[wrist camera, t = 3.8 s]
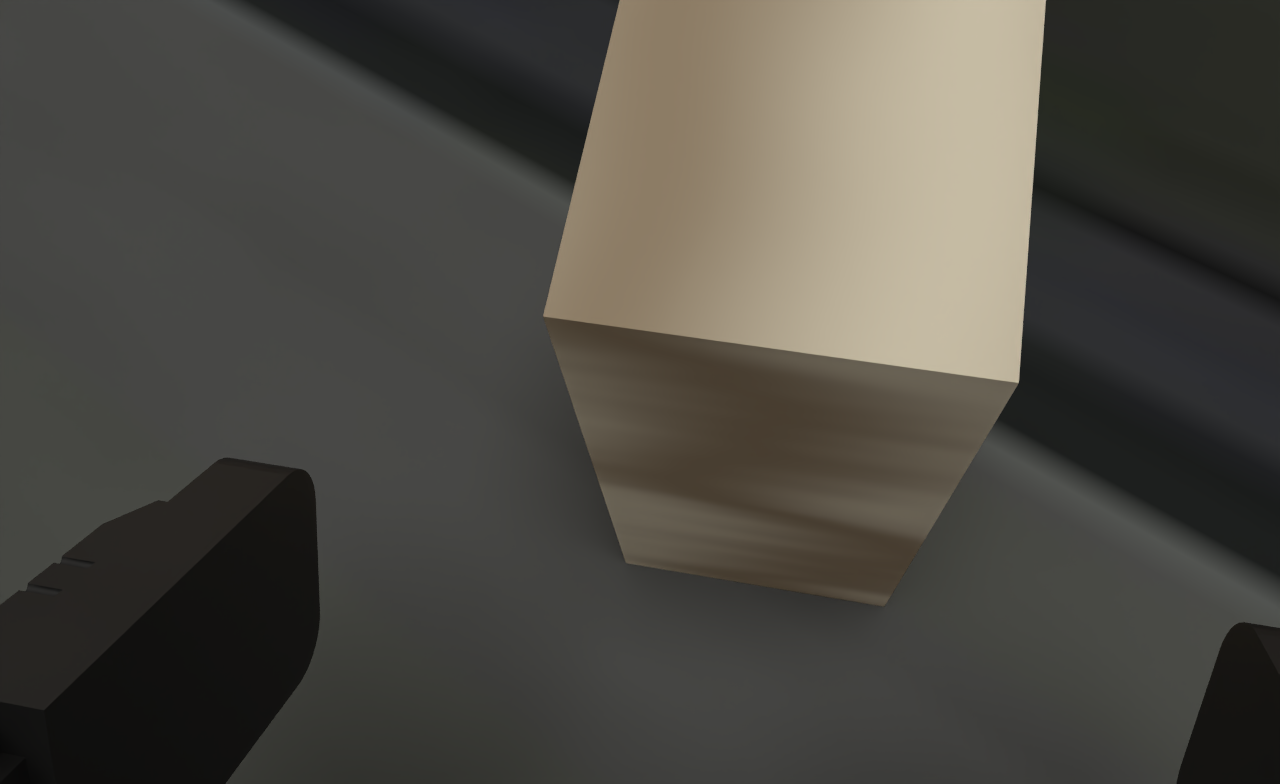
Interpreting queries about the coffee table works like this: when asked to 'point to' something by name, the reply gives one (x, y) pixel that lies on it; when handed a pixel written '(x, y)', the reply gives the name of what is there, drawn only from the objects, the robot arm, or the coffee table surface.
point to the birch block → (797, 277)
